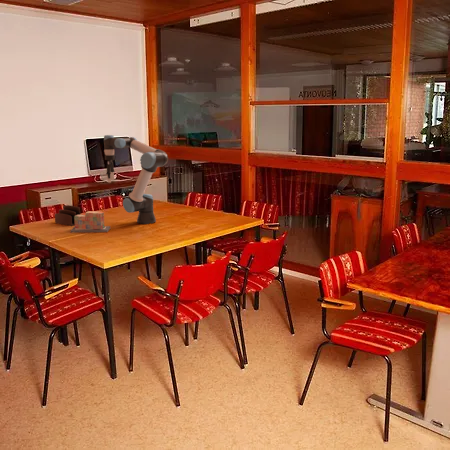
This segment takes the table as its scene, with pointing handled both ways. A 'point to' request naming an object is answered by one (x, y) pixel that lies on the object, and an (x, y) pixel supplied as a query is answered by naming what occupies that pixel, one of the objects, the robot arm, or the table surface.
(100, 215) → the stack of blocks
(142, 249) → the table surface
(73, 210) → the letter holder
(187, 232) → the table surface
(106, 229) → the base board
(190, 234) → the table surface
